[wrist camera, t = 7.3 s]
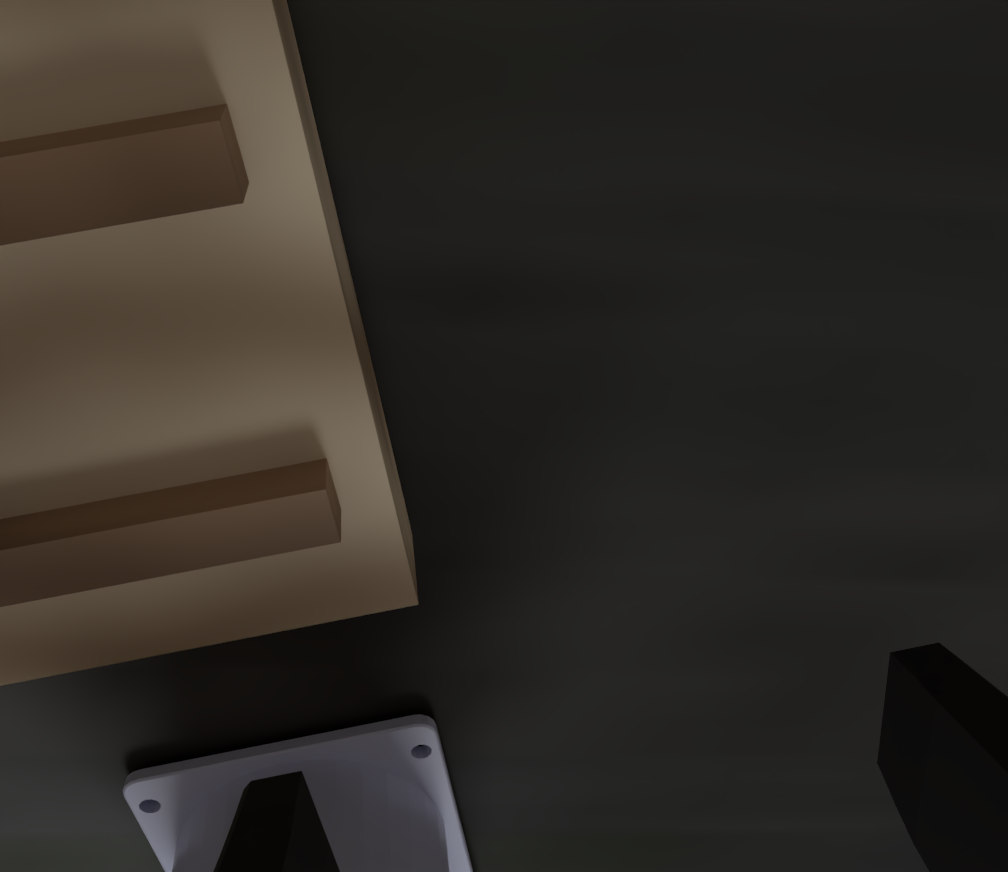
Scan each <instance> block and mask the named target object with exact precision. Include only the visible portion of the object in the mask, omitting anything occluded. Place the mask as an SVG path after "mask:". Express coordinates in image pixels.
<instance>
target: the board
mask: <svg viewBox="0 0 1008 872" xmlns="http://www.w3.org/2000/svg"><path fill="white" fill-rule="evenodd" d="M414 605H419V604H418V593H417V582H416V571H415V560H414V549H413V538H412V531H411V527H410V523H409V518H408V514H407V510H406V506H405V501H404V497H403V493H402V489H401V484H400V480H399V476H398V472H397V467H396V463H395V459H394V455H393V450H392V446H391V442H390V438H389V434H388V429H387V425H386V421H385V417H384V412H383V408H382V404H381V400H380V395H379V391H378V387H377V383H376V378H375V374H374V370H373V366H372V361H371V357H370V353H369V349H368V344H367V340H366V336H365V332H364V327H363V323H362V319H361V315H360V310H359V306H358V302H357V298H356V293H355V289H354V285H353V281H352V276H351V272H350V268H349V264H348V259H347V255H346V251H345V247H344V242H343V238H342V234H341V230H340V225H339V221H338V217H337V213H336V208H335V204H334V200H333V196H332V191H331V187H330V183H329V179H328V174H327V170H326V166H325V162H324V157H323V153H322V149H321V145H320V140H319V136H318V132H317V128H316V123H315V119H314V115H313V111H312V106H311V102H310V98H309V94H308V89H307V85H306V81H305V77H304V72H303V68H302V64H301V60H300V55H299V51H298V47H297V43H296V38H295V34H294V30H293V26H292V21H291V17H290V13H289V9H288V4H287V0H0V686H2V685H7V684H13V683H18V682H23V681H28V680H33V679H38V678H43V677H49V676H54V675H59V674H64V673H69V672H74V671H80V670H85V669H90V668H95V667H100V666H105V665H110V664H116V663H121V662H126V661H131V660H136V659H141V658H146V657H152V656H157V655H162V654H167V653H172V652H177V651H183V650H188V649H193V648H198V647H203V646H208V645H213V644H219V643H224V642H229V641H234V640H239V639H244V638H249V637H255V636H260V635H265V634H270V633H275V632H280V631H286V630H291V629H296V628H301V627H306V626H311V625H316V624H322V623H327V622H332V621H337V620H342V619H347V618H352V617H358V616H363V615H368V614H373V613H378V612H383V611H388V610H394V609H399V608H404V607H409V606H414Z"/></svg>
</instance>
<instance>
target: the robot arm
mask: <svg viewBox="0 0 1008 872" xmlns="http://www.w3.org/2000/svg"><path fill="white" fill-rule="evenodd" d="M418 745H424V746H418ZM877 763H878V765H879V768H880V770H881V772H882V775H883V777H884V779H885V782H886V784H887V786H888V788H889V791H890V793H891V795H892V798H893V800H894V802H895V805H896V807H897V809H898V811H899V813H900V816H901V818H902V820H903V822H904V824H905V826H906V828H907V831H908V833H909V835H910V837H911V839H912V841H913V844H914V845H915V847H916V849H917V851H918V852H919V854H920V856H921V858H922V859H923V861H924V863H925V865H926V866H927V868H928V870H929V871H930V872H1008V697H1007V696H1006V695H1005V694H1003V693H1002V692H1001V691H1000V690H998V689H997V688H996V687H995V686H993V685H992V684H991V683H990V682H988V681H987V680H986V679H985V678H983V677H982V676H981V675H980V674H978V673H977V672H976V671H975V670H973V669H972V668H971V667H970V666H968V665H967V664H966V663H964V662H963V661H962V660H961V659H959V658H958V657H957V656H956V655H954V654H953V653H952V652H950V651H949V650H948V649H947V648H945V647H944V646H943V645H941V644H940V643H935V644H930V645H925V646H920V647H915V648H910V649H905V650H900V651H895V652H890V659H889V668H888V676H887V685H886V693H885V702H884V710H883V719H882V728H881V736H880V745H879V753H878V762H877ZM123 794H124V797H125V799H126V801H127V803H128V805H129V806H130V808H131V810H132V812H133V814H134V816H135V817H136V819H137V821H138V823H139V825H140V827H141V828H142V830H143V832H144V834H145V836H146V838H147V839H148V841H149V843H150V845H151V847H152V849H153V850H154V852H155V854H156V856H157V858H158V860H159V861H160V863H161V865H162V867H163V869H164V871H165V872H473V868H472V864H471V860H470V856H469V852H468V848H467V845H466V841H465V837H464V833H463V829H462V825H461V821H460V817H459V813H458V809H457V805H456V801H455V797H454V793H453V789H452V785H451V781H450V777H449V773H448V769H447V765H446V761H445V757H444V754H443V750H442V746H441V742H440V738H439V734H438V730H437V726H436V723H435V722H434V720H433V719H432V718H430V717H429V716H425V715H421V714H420V715H410V716H405V717H400V718H395V719H390V720H385V721H380V722H375V723H370V724H365V725H360V726H355V727H350V728H345V729H340V730H335V731H330V732H325V733H320V734H315V735H310V736H305V737H300V738H295V739H290V740H285V741H280V742H275V743H270V744H265V745H260V746H255V747H250V748H245V749H240V750H235V751H230V752H225V753H220V754H215V755H210V756H205V757H200V758H195V759H190V760H185V761H180V762H175V763H170V764H165V765H160V766H155V767H149V768H144V769H140V770H137V771H134V772H132V773H131V774H129V775H128V776H127V778H126V780H125V784H124V788H123ZM150 799H152V800H150Z"/></svg>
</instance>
